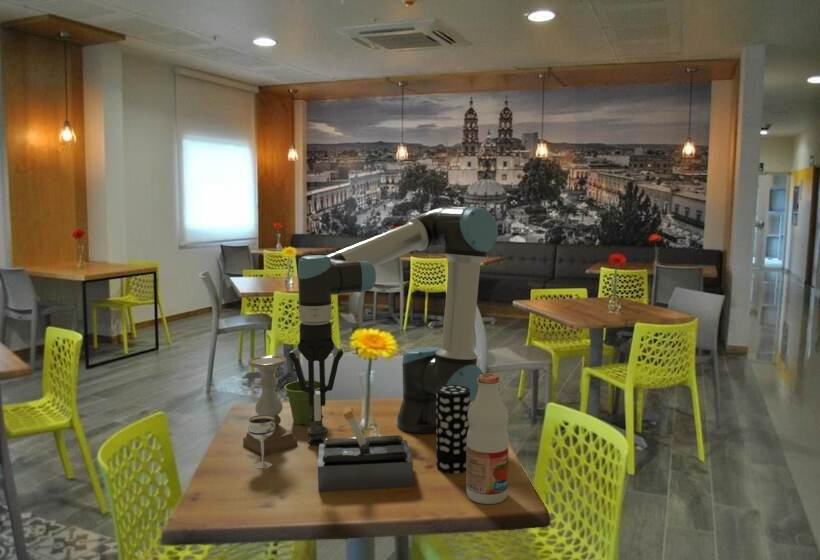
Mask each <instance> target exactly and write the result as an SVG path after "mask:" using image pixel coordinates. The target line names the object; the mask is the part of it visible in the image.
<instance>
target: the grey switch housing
mask: <svg viewBox="0 0 820 560" xmlns="http://www.w3.org/2000/svg"><path fill="white" fill-rule="evenodd" d="M364 438H365V439H367V440H368V442H369V448H370V451H369V453H368V454H361V453H360V449H359V443H358V441H357V439H356V437H354V436H353V437H335V438H334V437H331V438H330V437H329V438H324V439H325V440H324V444H319V446H318V459H317V484H318V485H317V490H318V492H328V491H329V492H332V491H348V490H351V491H352V490H368V489H387V488H388V489H390V488H405V487H406V488H408V487H410V488H411V487H413V486H414V484H413V483H414V474H413V473H414V466H413V465H414V462H413V458H412V454H411V450H410V448H409V444H408V440H407V439H404V438H403V436H402V435H377V436H364Z"/></svg>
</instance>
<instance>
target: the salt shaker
mask: <svg viewBox="0 0 820 560" xmlns="http://www.w3.org/2000/svg"><path fill="white" fill-rule="evenodd" d="M322 407H323V406H321V421H314V406H311V412H312V415H311V416H310V418H311V423H312V424H310V426H309V427H308V428H307V429H306V433H307V436H308V438H309V440H308V441H307V445H309V444H310V445H309V446H312V445H314V447H319V444H324V440H325V439H326V438H325V437H326V436H327V433H328V430H329V429H328V427H326V426H324V424H323V418H324V415H323V410H322V409H323V408H322ZM315 445H316V446H315Z"/></svg>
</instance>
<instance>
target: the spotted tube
mask: <svg viewBox="0 0 820 560" xmlns="http://www.w3.org/2000/svg"><path fill="white" fill-rule="evenodd" d="M470 405H471V403H470V389H469V388H468V387H465V386H461V385H444V386H440V387H438V388H437V389H436V432H435V433H436V437H435V438H436V441H435V442H436V445H435V448H436V450H435V451H436V453H435V454H436V457H435V458H436V460H435V461H436V464H435V465H436V469H437V470H438V471H441V472H442V473H445V474H462V473H466V457H467V443H466V442H467V432H468V430H469V421H468V417H467V414H468V409H469V406H470Z"/></svg>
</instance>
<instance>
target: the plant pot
mask: <svg viewBox="0 0 820 560" xmlns="http://www.w3.org/2000/svg"><path fill="white" fill-rule="evenodd" d="M305 382H306V385H308V386H309V379H305ZM283 388H284V390H286V396H287V397H288V402H289V405H290V410H291V415H292V421H293V423H294V424H296V425H298V424H299V425H305V426H309V424H310V425H311V424H312V423H311V418H310V416H311V415H312V412H311V407H310V405H309V393H308V392H305V391H304V392H303V391H302V390H301V387H300V384H299V380H295V381H292V382H289V383H286V384H285V385H284V386H283ZM314 391H320V380H315V379H314ZM299 425H298V426H299Z"/></svg>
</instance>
